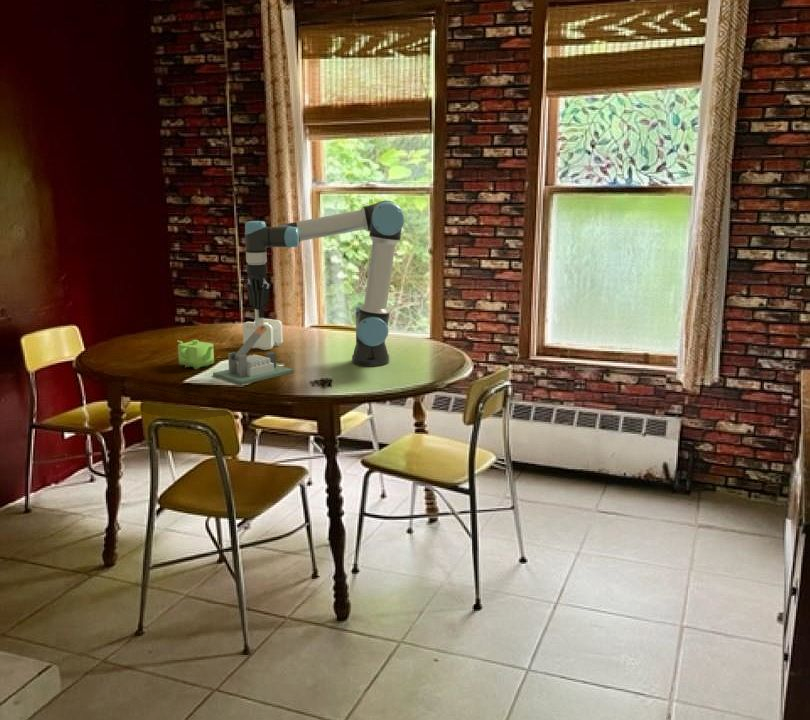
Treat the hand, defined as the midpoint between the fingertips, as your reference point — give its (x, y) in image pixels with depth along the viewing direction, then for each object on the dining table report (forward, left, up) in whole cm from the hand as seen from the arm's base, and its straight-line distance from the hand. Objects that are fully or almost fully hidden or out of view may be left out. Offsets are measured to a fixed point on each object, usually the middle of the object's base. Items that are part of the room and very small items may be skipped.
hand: (259, 325), depth 297 cm
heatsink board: (0, +4, -18) cm, 19 cm away
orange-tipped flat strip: (0, +4, -7) cm, 8 cm away
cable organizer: (+34, -27, -19) cm, 47 cm away
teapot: (+26, +12, -19) cm, 34 cm away
